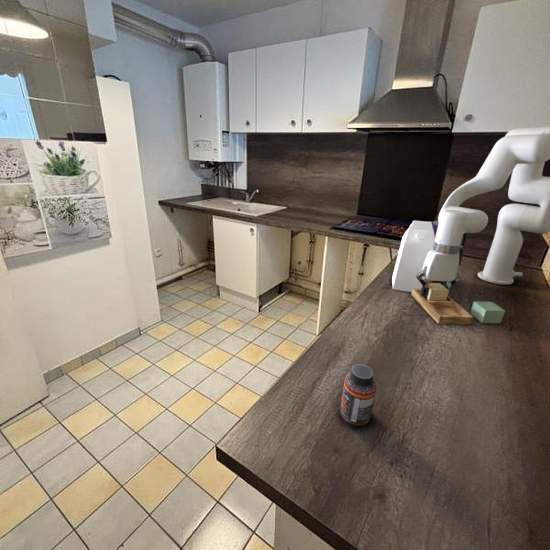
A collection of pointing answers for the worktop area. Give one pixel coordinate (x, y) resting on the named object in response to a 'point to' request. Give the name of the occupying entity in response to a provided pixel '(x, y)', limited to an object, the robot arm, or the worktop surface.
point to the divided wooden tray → (443, 310)
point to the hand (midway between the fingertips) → (433, 296)
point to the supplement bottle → (358, 395)
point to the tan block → (437, 292)
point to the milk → (412, 256)
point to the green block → (487, 312)
